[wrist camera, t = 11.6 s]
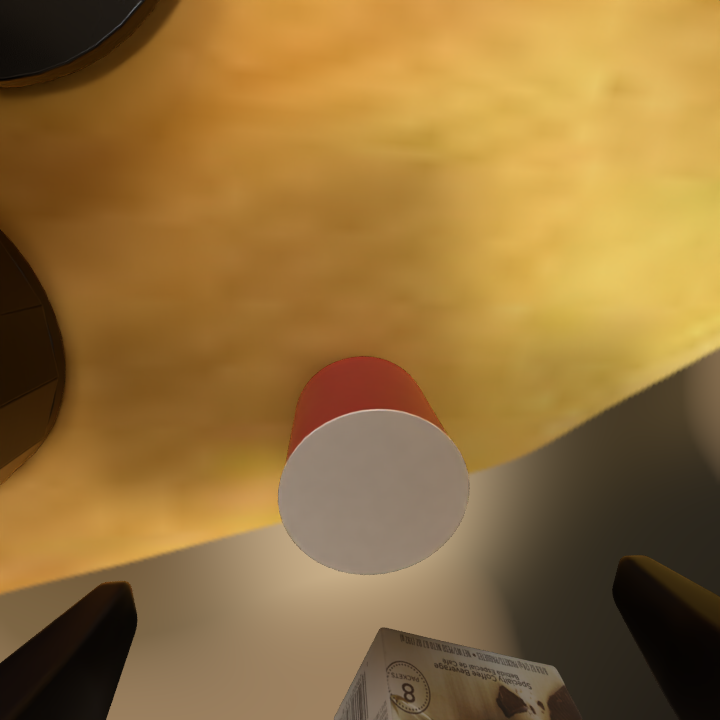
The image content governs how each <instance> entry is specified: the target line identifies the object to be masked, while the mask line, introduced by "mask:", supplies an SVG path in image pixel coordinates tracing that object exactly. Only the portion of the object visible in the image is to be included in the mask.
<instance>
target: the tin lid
mask: <svg viewBox="0 0 720 720" xmlns="http://www.w3.org/2000/svg"><path fill="white" fill-rule="evenodd" d="M158 2H159V0H0V88H7V87H21V86H27V85H32V84H37V83H42V82H48V81H52V80H54V79H57V78H60V77H63V76H65V75H68V74H71V73H74V72H76V71H79V70H81V69H83V68H85V67H86V66H88V65H90V64H92V63H93V62H95V61H97V60H99V59H100V58H102V57H104V56H106V55H107V54H108V53H110V52H111V51H112V50H113V49H115V48H116V47H117V46H118V45H120V44H121V43H122V42H123V41H125V40H126V39H127V38H128V37H129V36H131V35H132V34H133V32H134V31H135V30H136V29H137V28H138V27H139V26H140V25H141V23H142V22H143V21H144V20H145V19H146V18H147V17H148V16H149V15H150V13H151V12H152V11H153V10H154V8H155V7H156V5H157V4H158Z"/></svg>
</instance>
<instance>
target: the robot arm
mask: <svg viewBox="0 0 720 720" xmlns="http://www.w3.org/2000/svg"><path fill="white" fill-rule="evenodd" d="M612 591H613V598H614V601H615V603H616V606H617V608H618V609H619V611H620V613H621V615H622V617H623V619H624V621H625V623H626V625H627V626H628V628H629V630H630V632H631V634H632V636H633V638H634V640H635V642H636V643H637V645H638V647H639V649H640V651H641V653H642V655H643V657H644V659H645V661H646V662H647V664H648V666H649V668H650V670H651V672H652V674H653V675H654V678H655V680H656V681H657V683H658V685H659V687H660V688H661V690H662V692H663V694H664V696H665V697H666V699H667V701H668V702H669V704H670V706H671V707H672V709H673V711H674V712H675V714H676V715H677V717H678V719H679V720H720V596H718V595H716V594H714V593H712V592H711V591H709V590H707V589H705V588H704V587H702V586H700V585H698V584H696V583H694V582H693V581H691V580H689V579H687V578H686V577H684V576H682V575H680V574H678V573H677V572H675V571H673V570H671V569H669V568H668V567H666V566H664V565H662V564H660V563H658V562H657V561H655V560H653V559H651V558H650V557H648V556H644V555H635V556H634V555H633V556H624V557H622V558H621V559H620V561H619V565H618V568H617V572H616V576H615V581H614V584H613V589H612ZM136 627H137V613H136V608H135V603H134V598H133V593H132V588H131V586H130V584H129V583H128V582H126V581H117V582H105V583H102V584H100V585H99V586H97V587H96V588H95V589H94V590H92V591H91V592H90V593H88V594H87V595H86V596H85V597H83V598H82V599H81V600H80V601H78V602H77V603H76V604H75V605H73V606H72V607H71V608H69V609H68V610H67V611H66V612H64V613H63V614H62V615H61V616H60V617H58V618H57V619H56V620H54V621H53V622H52V623H50V624H49V625H48V626H47V627H45V628H44V629H43V630H42V631H40V632H39V633H38V634H36V635H35V636H34V637H33V638H31V639H30V640H29V641H28V642H26V643H25V644H24V645H23V646H21V647H20V648H19V649H17V650H16V651H15V652H14V653H12V654H11V655H10V656H9V657H7V658H6V659H5V660H4V661H2V662H1V663H0V720H106V718H107V715H108V712H109V709H110V706H111V703H112V700H113V697H114V694H115V691H116V688H117V685H118V682H119V679H120V676H121V673H122V670H123V667H124V664H125V661H126V658H127V655H128V652H129V649H130V646H131V643H132V640H133V637H134V635H135V631H136Z"/></svg>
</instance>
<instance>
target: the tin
mask: <svg viewBox="0 0 720 720" xmlns="http://www.w3.org/2000/svg"><path fill="white" fill-rule="evenodd" d="M64 384H65V358H64V351H63V344H62V337H61V334H60V331H59V327H58V324H57V320H56V317H55V314H54V311H53V309H52V307H51V305H50V302H49V300H48V298H47V295H46V293H45V291H44V289H43V287H42V286H41V284H40V282H39V280H38V279H37V277H36V275H35V274H34V272H33V270H32V268H31V267H30V266H29V264H28V263H27V261H26V260H25V259H24V257H23V256H22V255H21V253H20V252H19V251H18V249H17V248H16V247H15V245H14V244H13V243H12V242H11V241H10V240H9V238H8V237H7V236H6V235H5V234H4V233H3V232H2V231H1V230H0V485H1V484H2V483H3V482H5V481H6V480H7V479H8V478H9V477H10V476H11V474H12V473H13V472H14V471H15V470H16V469H17V468H18V467H20V466H21V465H22V464H23V463H24V462H25V461H26V460H28V459H29V458H30V457H31V456H32V455H33V454H34V453H35V452H36V451H37V449H38V448H39V447H40V445H41V444H42V443H43V441H44V440H45V439H46V437H47V436H48V434H49V432H50V430H51V428H52V426H53V424H54V422H55V420H56V417H57V414H58V411H59V408H60V405H61V402H62V397H63V390H64Z"/></svg>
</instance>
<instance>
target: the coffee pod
mask: <svg viewBox="0 0 720 720" xmlns="http://www.w3.org/2000/svg"><path fill="white" fill-rule="evenodd" d="M468 498H469V476H468V471H467V468H466V464H465V462H464V459H463V457H462V455H461V453H460V451H459V450H458V448H457V447H456V445H455V444H454V442H453V441H452V440H451V439H450V438H449V437H448V435H447V433H446V432H445V430H444V428H443V427H442V425H441V423H440V422H439V420H438V418H437V417H436V415H435V413H434V412H433V410H432V408H431V407H430V405H429V403H428V401H427V400H426V398H425V396H424V395H423V393H422V391H421V390H420V388H419V386H418V385H417V383H416V382H415V380H414V379H413V378H412V377H411V376H410V375H409V374H408V373H407V372H406V371H405V370H403V369H402V368H400V367H399V366H397V365H396V364H393V363H391V362H389V361H386V360H383V359H380V358H375V357H364V356H361V357H351V358H346V359H342V360H340V361H337V362H334V363H332V364H330V365H328V366H326V367H325V368H323V369H322V370H320V371H319V372H318V373H317V374H316V375H314V376H313V377H312V379H311V380H310V381H309V382H308V383H307V385H306V386H305V388H304V389H303V391H302V393H301V395H300V397H299V400H298V403H297V407H296V412H295V417H294V422H293V428H292V433H291V438H290V443H289V448H288V453H287V459H286V464H285V467H284V469H283V472H282V475H281V479H280V484H279V490H278V505H279V512H280V516H281V519H282V522H283V525H284V527H285V529H286V531H287V533H288V534H289V536H290V537H291V539H292V540H293V542H294V543H295V544H296V545H297V546H298V547H299V548H300V549H301V550H302V551H303V552H304V553H305V554H307V555H308V556H309V557H310V558H312V559H313V560H315V561H317V562H318V563H320V564H322V565H324V566H327V567H329V568H332V569H335V570H338V571H341V572H346V573H351V574H360V575H375V574H385V573H389V572H394V571H398V570H401V569H404V568H407V567H410V566H412V565H414V564H417V563H419V562H421V561H422V560H424V559H426V558H427V557H429V556H430V555H432V554H433V553H435V552H436V551H437V550H438V549H439V548H441V547H442V546H443V545H444V544H445V543H446V542H447V540H449V538H450V537H451V536H452V535H453V533H454V532H455V531H456V529H457V528H458V526H459V524H460V522H461V520H462V518H463V516H464V513H465V510H466V507H467V504H468Z"/></svg>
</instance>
